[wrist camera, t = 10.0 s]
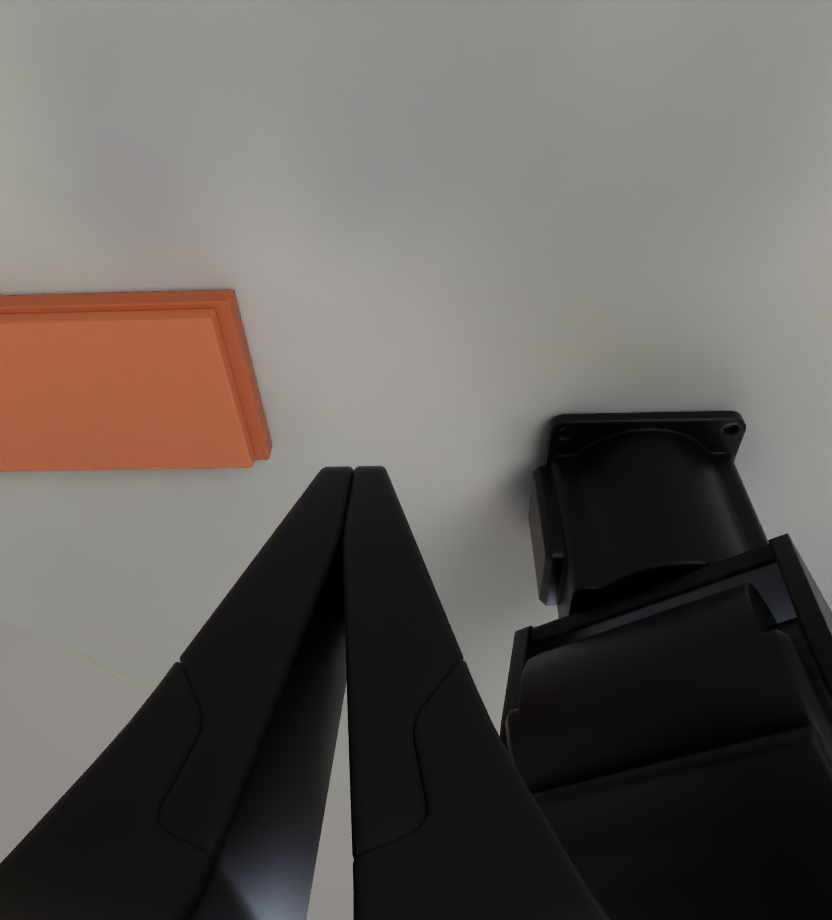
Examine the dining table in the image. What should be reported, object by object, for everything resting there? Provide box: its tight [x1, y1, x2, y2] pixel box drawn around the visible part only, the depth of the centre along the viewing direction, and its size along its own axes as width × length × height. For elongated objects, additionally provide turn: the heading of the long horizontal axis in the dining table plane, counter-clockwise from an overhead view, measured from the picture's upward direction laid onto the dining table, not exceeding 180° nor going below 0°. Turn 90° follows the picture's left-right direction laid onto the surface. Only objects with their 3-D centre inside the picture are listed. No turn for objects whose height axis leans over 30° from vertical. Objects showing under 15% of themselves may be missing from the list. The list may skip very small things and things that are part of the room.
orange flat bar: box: [0, 290, 272, 471], centre depth 23 cm, size 14×6×1 cm, turn 92°
